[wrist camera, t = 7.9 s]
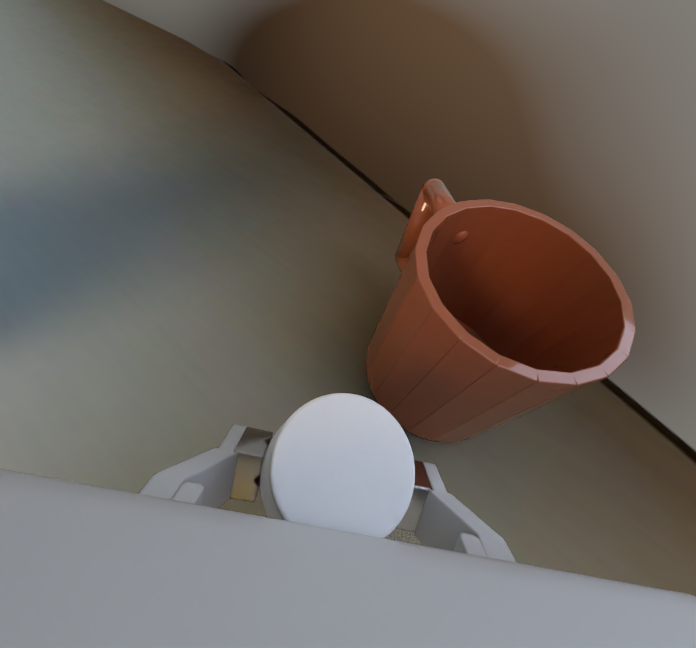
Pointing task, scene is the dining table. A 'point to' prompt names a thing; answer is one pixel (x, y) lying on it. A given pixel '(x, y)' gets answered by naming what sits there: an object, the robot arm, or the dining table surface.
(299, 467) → the pill bottle
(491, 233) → the reddish brown mug
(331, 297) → the dining table surface
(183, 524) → the robot arm
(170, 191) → the dining table surface
